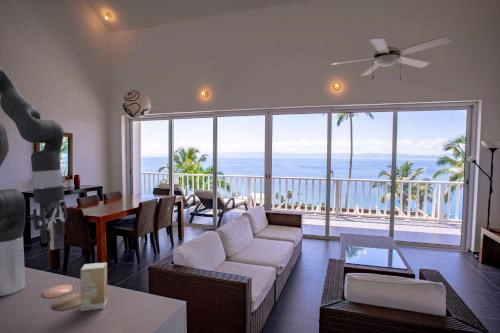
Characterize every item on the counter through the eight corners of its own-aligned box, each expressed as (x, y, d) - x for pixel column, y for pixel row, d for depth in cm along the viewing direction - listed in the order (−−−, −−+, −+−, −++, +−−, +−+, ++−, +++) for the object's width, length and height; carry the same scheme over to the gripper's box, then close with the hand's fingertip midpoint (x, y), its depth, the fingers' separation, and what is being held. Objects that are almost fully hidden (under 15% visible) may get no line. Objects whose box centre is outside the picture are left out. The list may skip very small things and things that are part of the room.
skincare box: (80, 312, 81) (78, 269, 81) (84, 304, 86) (83, 263, 85) (105, 308, 83) (103, 267, 83) (108, 301, 87) (107, 261, 87)
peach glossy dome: (36, 296, 91) (36, 294, 91) (60, 285, 99) (59, 283, 99) (56, 300, 89) (55, 297, 89) (78, 288, 96) (78, 286, 96)
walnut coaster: (45, 308, 84) (45, 306, 84) (72, 294, 93) (72, 291, 93) (69, 313, 81) (69, 310, 81) (95, 298, 90) (94, 295, 90)
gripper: (47, 184, 93) (52, 234, 94) (20, 189, 79) (26, 247, 80) (72, 182, 95) (77, 231, 95) (49, 187, 81) (55, 244, 81)
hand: (53, 238), depth 88 cm, fingers open, 8 cm apart
